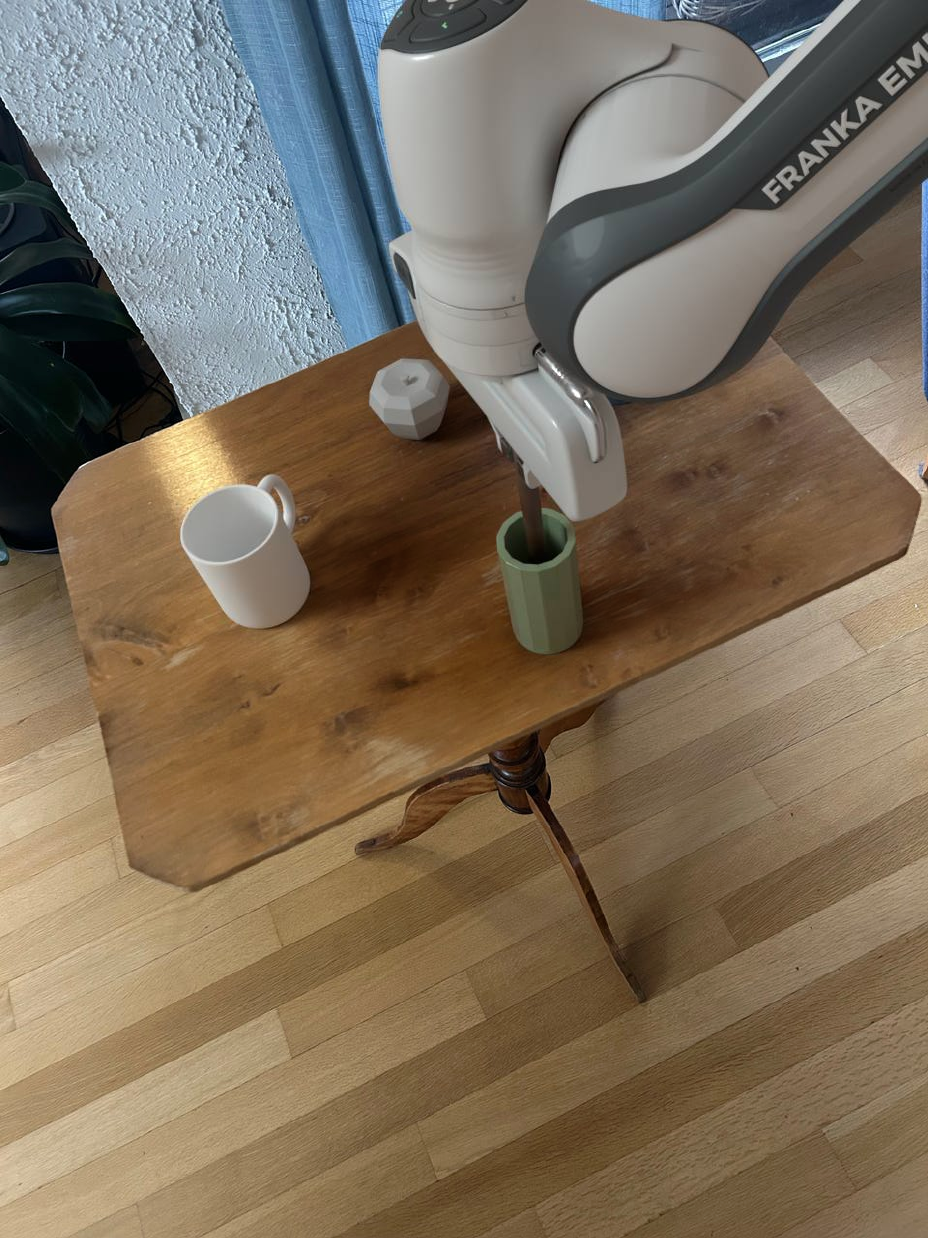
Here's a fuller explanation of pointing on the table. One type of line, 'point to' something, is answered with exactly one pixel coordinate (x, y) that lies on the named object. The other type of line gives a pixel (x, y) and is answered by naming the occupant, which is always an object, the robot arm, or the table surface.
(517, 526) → the crock
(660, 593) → the table surface
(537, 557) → the dark wooden dowel
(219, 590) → the cup
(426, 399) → the grey apple
